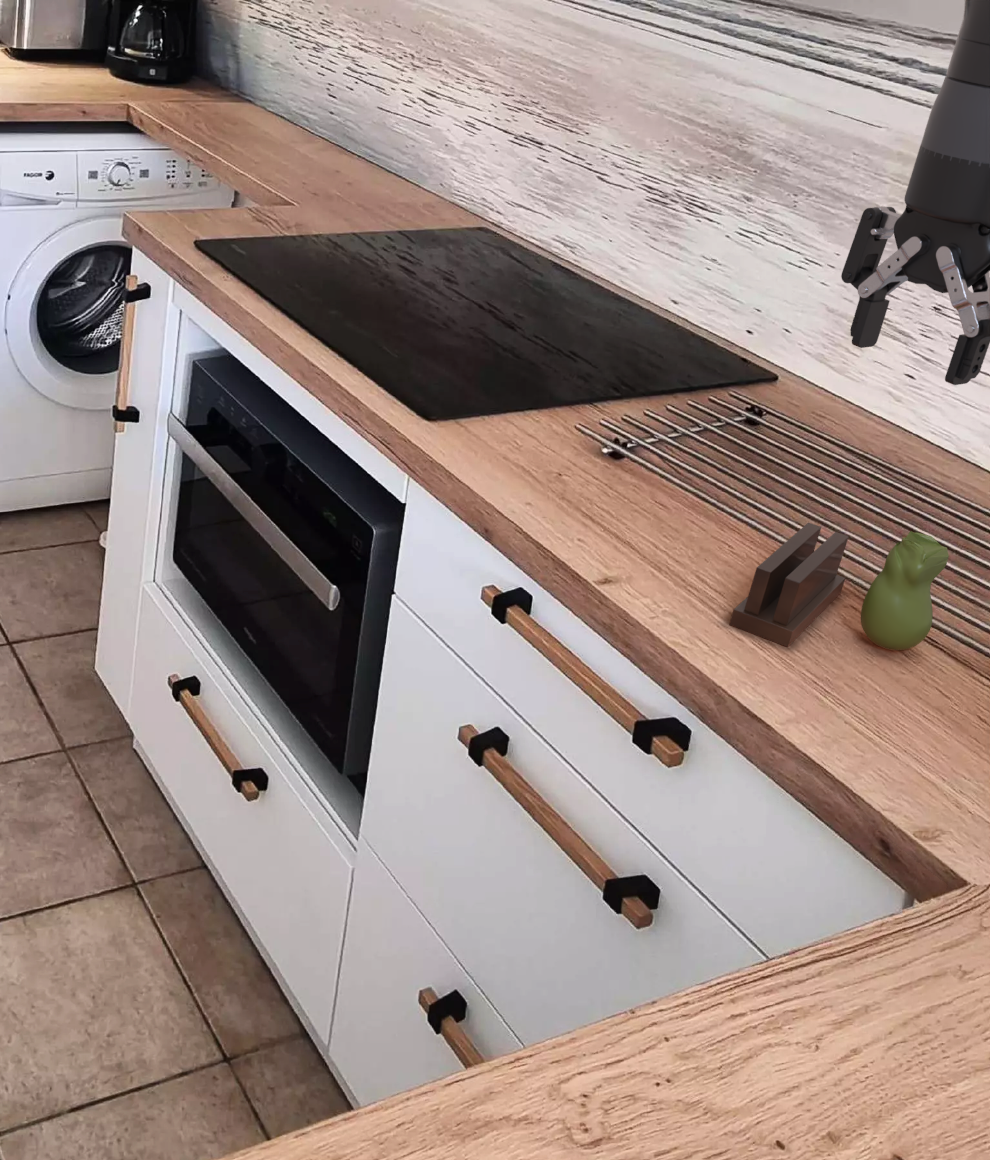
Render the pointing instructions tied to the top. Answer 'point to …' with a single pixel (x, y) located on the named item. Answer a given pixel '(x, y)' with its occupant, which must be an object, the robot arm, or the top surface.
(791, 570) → the holder
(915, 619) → the pear
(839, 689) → the top surface
